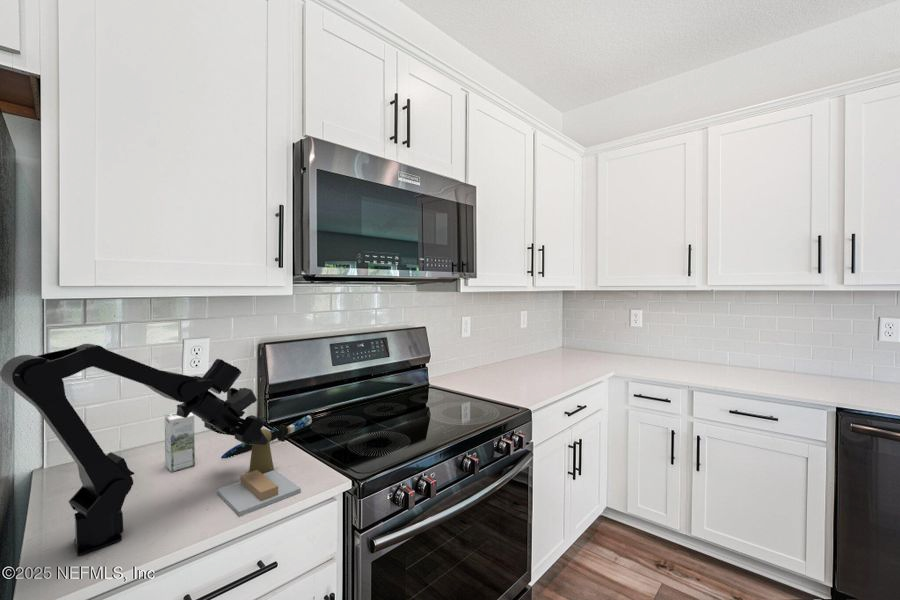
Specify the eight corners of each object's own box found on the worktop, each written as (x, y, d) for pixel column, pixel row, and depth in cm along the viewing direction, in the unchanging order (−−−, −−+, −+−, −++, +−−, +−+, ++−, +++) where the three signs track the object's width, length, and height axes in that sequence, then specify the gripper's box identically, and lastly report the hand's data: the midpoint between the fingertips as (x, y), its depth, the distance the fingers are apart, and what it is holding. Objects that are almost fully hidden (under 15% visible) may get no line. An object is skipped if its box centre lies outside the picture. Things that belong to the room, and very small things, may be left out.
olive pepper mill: (264, 477, 106) (263, 435, 105) (243, 475, 107) (242, 434, 106) (278, 467, 111) (277, 427, 111) (258, 465, 113) (257, 426, 112)
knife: (313, 424, 141) (311, 412, 140) (318, 426, 139) (316, 414, 138) (218, 464, 118) (216, 449, 117) (222, 467, 116) (220, 452, 115)
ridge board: (239, 516, 88) (238, 503, 88) (217, 493, 98) (216, 481, 97) (300, 492, 98) (300, 480, 98) (275, 473, 108) (275, 462, 108)
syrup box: (189, 459, 116) (188, 409, 115) (195, 466, 112) (194, 414, 111) (165, 466, 112) (163, 414, 111) (171, 473, 108) (169, 419, 107)
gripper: (256, 386, 97) (296, 418, 107) (215, 375, 107) (255, 406, 117) (223, 428, 91) (270, 458, 101) (183, 413, 101) (229, 442, 111)
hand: (256, 439), depth 108 cm, fingers open, 9 cm apart
